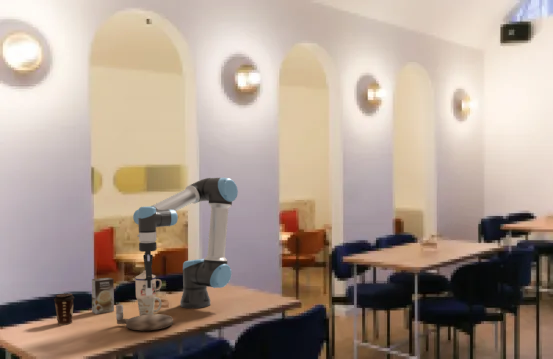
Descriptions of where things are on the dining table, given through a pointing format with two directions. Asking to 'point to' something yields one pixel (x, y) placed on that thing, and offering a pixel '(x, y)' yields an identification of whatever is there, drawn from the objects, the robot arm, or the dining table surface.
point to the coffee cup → (64, 308)
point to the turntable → (143, 320)
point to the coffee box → (102, 295)
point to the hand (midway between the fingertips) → (148, 293)
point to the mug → (148, 305)
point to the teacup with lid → (142, 286)
